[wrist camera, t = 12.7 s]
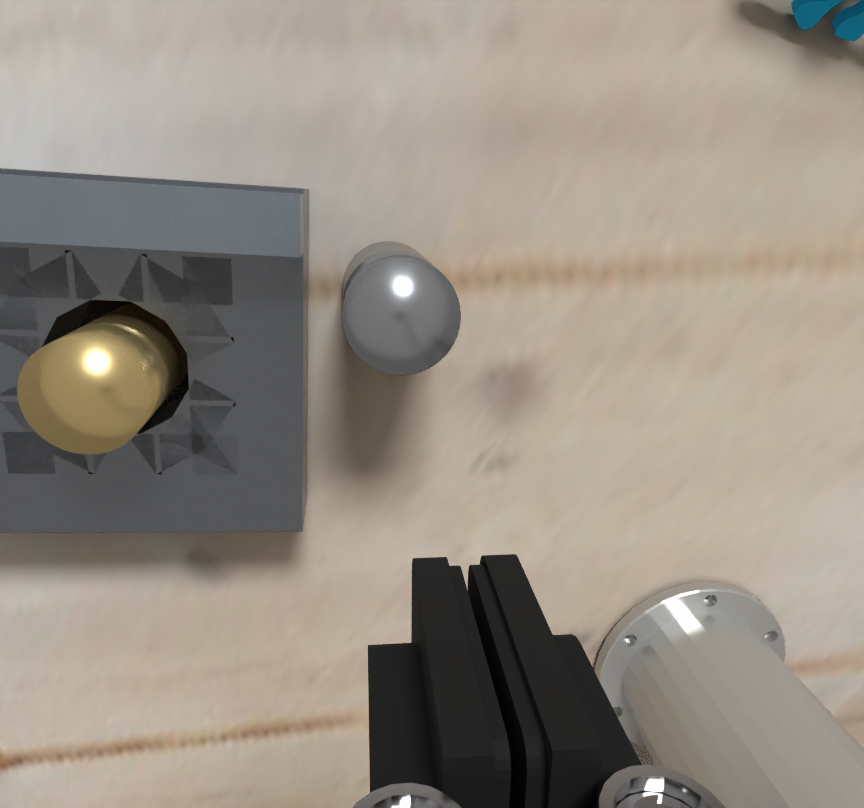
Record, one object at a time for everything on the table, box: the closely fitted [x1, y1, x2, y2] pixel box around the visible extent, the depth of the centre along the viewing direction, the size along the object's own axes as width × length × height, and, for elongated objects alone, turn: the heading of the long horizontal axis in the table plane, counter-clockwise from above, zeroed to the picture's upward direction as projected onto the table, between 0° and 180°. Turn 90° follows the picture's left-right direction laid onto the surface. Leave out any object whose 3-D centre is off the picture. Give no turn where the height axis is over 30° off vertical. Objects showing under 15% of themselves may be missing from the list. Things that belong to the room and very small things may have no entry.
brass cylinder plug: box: [17, 304, 188, 455], centre depth 28 cm, size 5×5×8 cm
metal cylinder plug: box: [342, 242, 461, 375], centre depth 29 cm, size 5×5×8 cm
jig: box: [0, 168, 309, 533], centre depth 29 cm, size 16×16×6 cm
